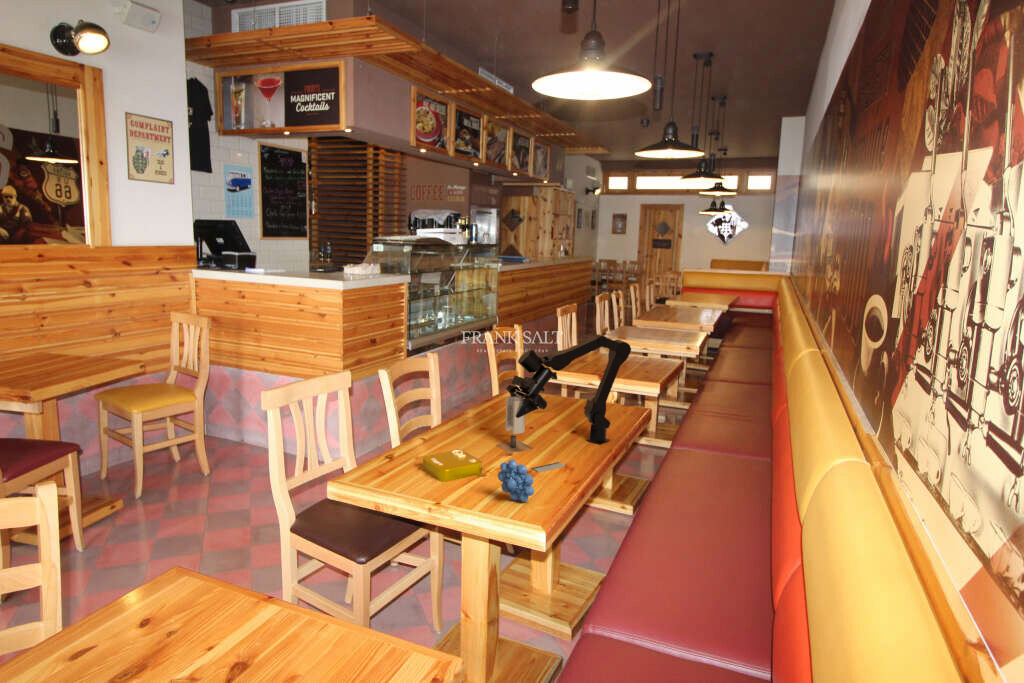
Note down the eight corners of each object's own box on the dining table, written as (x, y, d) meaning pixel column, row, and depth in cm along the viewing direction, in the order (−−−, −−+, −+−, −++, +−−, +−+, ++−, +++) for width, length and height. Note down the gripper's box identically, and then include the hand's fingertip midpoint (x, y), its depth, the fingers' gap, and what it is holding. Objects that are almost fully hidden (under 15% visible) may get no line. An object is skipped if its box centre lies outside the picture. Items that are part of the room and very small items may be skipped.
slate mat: (545, 456, 212) (545, 455, 212) (564, 466, 203) (564, 465, 203) (518, 461, 206) (518, 460, 206) (537, 472, 197) (538, 471, 197)
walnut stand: (518, 443, 225) (518, 430, 224) (534, 451, 217) (534, 437, 216) (495, 447, 219) (495, 434, 219) (510, 456, 211) (510, 442, 210)
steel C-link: (515, 428, 220) (516, 395, 219) (524, 432, 216) (525, 399, 214) (505, 430, 218) (506, 397, 216) (514, 434, 213) (515, 401, 212)
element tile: (420, 469, 199) (420, 455, 198) (460, 460, 207) (460, 447, 206) (442, 484, 187) (442, 469, 186) (484, 474, 195) (484, 460, 194)
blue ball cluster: (490, 501, 174) (490, 461, 172) (501, 493, 180) (502, 454, 178) (526, 510, 169) (527, 469, 167) (537, 501, 175) (538, 461, 173)
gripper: (511, 362, 223) (484, 395, 219) (541, 372, 208) (513, 408, 204) (528, 381, 229) (502, 413, 224) (558, 392, 213) (532, 427, 209)
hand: (512, 415), depth 215 cm, fingers closed on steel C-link, 6 cm apart
